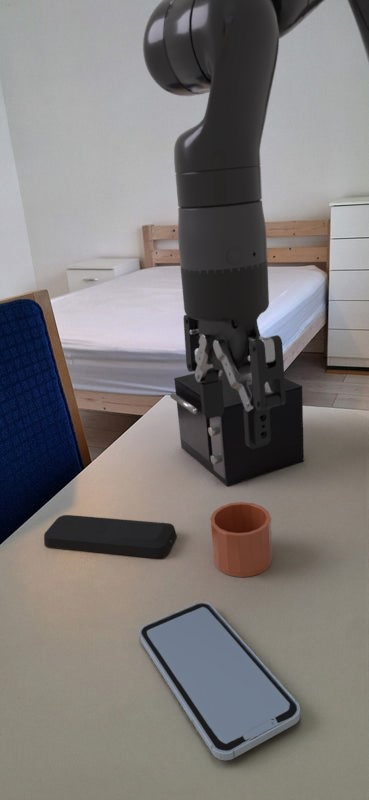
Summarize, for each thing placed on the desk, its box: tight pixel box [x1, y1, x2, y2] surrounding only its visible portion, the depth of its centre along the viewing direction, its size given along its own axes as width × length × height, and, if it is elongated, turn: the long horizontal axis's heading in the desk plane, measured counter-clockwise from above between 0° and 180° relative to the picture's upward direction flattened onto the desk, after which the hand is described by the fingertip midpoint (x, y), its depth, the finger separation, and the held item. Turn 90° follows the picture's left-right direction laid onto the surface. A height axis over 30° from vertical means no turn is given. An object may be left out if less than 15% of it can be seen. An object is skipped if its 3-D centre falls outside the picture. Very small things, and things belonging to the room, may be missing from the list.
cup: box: [209, 501, 273, 578], centre depth 62 cm, size 6×6×5 cm
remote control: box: [43, 514, 178, 559], centre depth 68 cm, size 5×2×15 cm
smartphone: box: [138, 601, 301, 761], centre depth 49 cm, size 7×1×15 cm
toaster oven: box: [169, 368, 305, 487], centre depth 83 cm, size 14×14×11 cm
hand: (234, 429), depth 57 cm, fingers open, 8 cm apart
